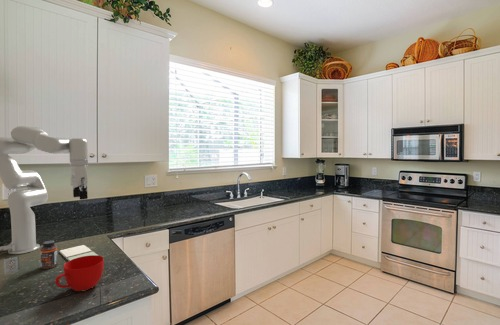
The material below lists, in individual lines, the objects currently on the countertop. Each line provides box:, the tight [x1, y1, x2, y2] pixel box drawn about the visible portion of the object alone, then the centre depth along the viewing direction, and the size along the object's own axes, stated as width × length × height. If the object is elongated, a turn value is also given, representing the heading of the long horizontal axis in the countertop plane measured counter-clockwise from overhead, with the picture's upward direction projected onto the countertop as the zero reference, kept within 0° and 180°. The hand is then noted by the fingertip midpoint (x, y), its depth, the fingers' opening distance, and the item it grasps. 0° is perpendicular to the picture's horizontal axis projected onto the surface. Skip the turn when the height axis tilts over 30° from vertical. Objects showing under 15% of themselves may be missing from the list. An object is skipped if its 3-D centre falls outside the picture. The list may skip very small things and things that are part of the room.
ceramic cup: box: [54, 254, 105, 292], centre depth 99 cm, size 13×17×10 cm
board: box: [59, 244, 100, 262], centre depth 130 cm, size 11×27×1 cm, turn 48°
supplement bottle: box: [40, 240, 58, 270], centre depth 119 cm, size 6×6×11 cm
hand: (80, 198), depth 131 cm, fingers open, 9 cm apart
